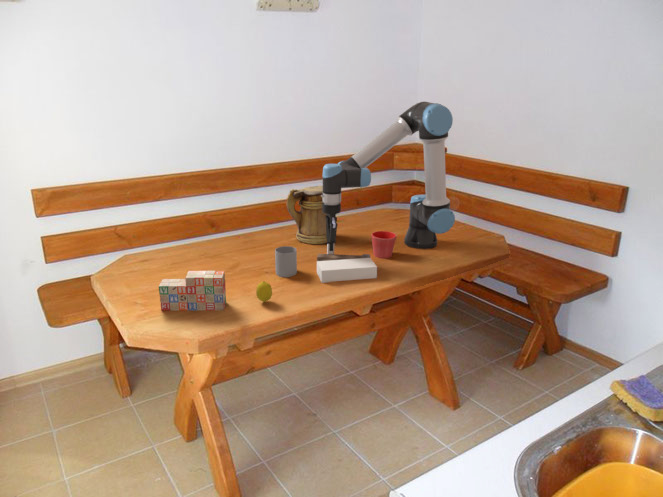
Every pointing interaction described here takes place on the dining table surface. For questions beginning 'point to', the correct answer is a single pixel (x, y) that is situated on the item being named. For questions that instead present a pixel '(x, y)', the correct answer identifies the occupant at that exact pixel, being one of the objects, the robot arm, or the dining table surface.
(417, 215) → the robot arm
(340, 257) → the folding leg
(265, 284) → the lemon
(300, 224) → the tankard
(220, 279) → the stack of blocks
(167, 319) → the dining table surface
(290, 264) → the cup
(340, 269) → the white rectangular box
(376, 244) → the flower pot
